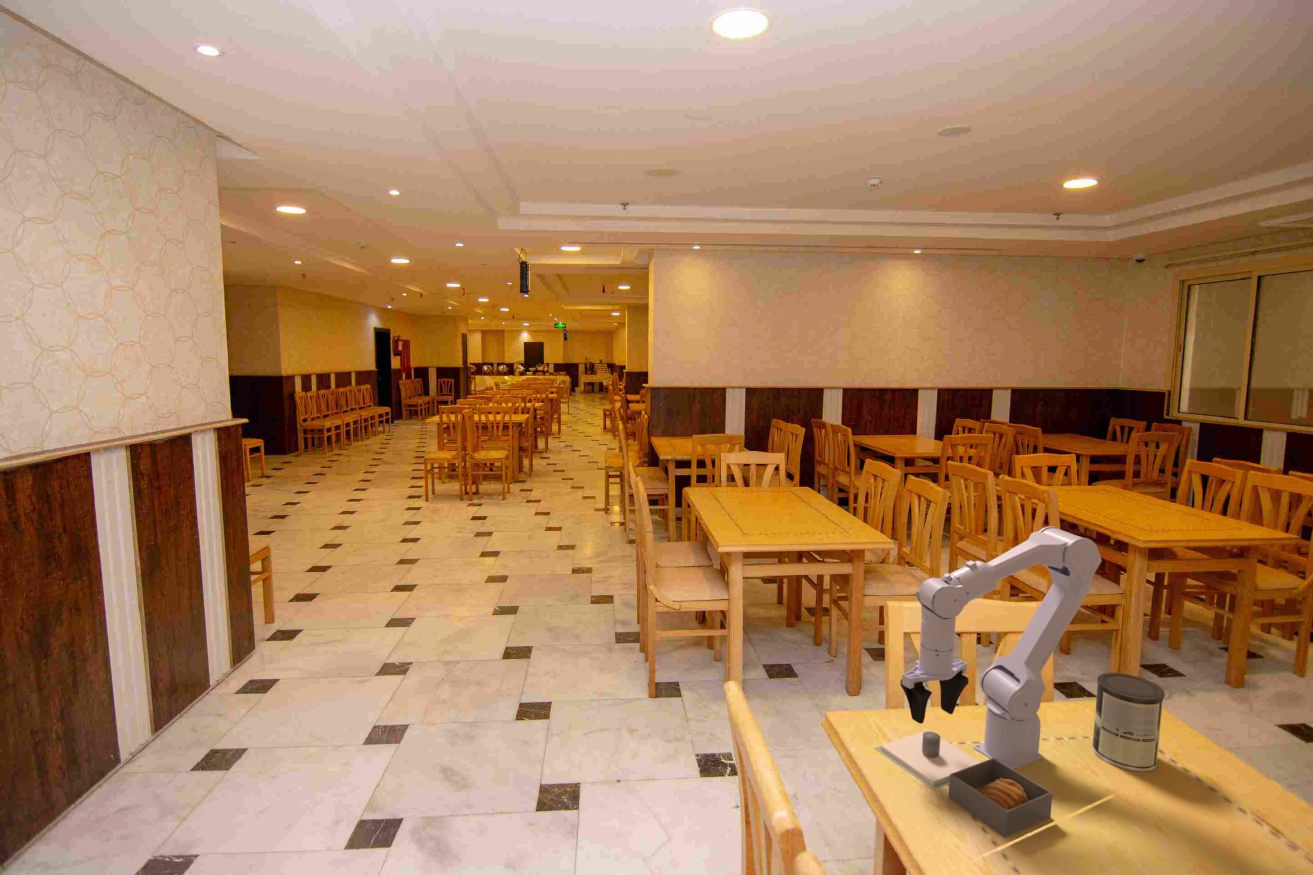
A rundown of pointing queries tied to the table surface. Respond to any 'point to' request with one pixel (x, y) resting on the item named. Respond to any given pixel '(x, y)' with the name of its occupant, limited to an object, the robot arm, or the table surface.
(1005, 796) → the pastry
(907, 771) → the mat
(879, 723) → the table surface
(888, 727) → the table surface
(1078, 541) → the robot arm
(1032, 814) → the dish
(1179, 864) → the table surface
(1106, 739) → the coffee can
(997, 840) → the table surface
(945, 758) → the lid
